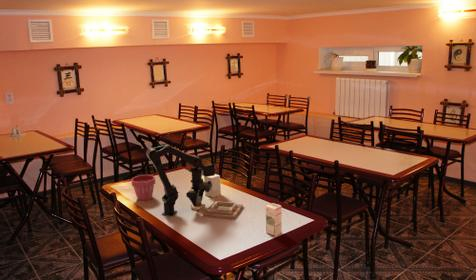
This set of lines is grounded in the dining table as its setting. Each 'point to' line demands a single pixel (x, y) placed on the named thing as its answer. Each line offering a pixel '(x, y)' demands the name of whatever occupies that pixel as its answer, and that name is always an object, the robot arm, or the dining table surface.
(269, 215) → the syrup box
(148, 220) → the dining table surface
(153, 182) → the plant pot
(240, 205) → the board
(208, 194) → the supplement box
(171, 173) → the dining table surface
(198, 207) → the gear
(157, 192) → the dining table surface
